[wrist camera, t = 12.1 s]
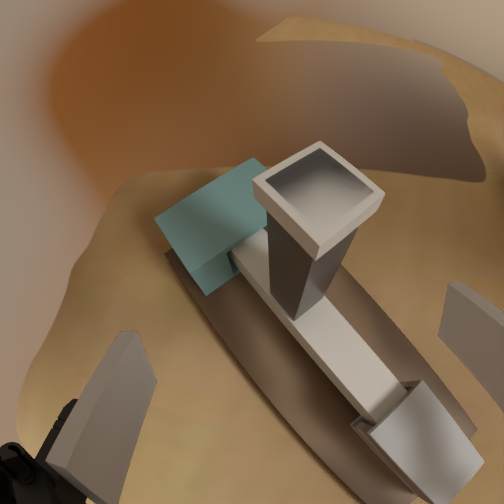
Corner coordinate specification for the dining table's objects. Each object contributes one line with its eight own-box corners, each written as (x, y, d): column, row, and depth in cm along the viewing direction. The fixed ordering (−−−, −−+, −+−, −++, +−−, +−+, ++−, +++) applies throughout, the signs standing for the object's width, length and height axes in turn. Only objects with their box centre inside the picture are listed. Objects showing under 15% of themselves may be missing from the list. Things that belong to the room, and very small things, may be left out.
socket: (256, 192, 28) (253, 157, 24) (295, 231, 26) (299, 198, 21) (172, 247, 26) (153, 218, 22) (206, 296, 24) (189, 273, 19)
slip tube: (249, 228, 25) (226, 81, 12) (414, 417, 16) (553, 421, 4) (219, 248, 25) (171, 107, 12) (385, 445, 16) (513, 489, 3)
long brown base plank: (264, 196, 30) (262, 152, 24) (468, 428, 16) (509, 430, 11) (169, 260, 27) (144, 226, 21) (381, 516, 14) (408, 543, 8)
